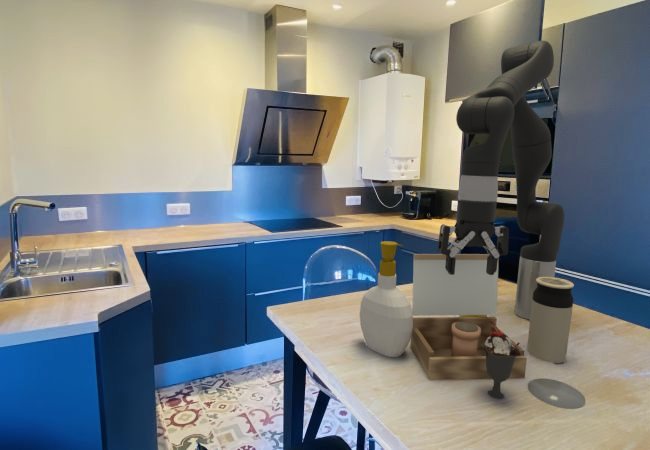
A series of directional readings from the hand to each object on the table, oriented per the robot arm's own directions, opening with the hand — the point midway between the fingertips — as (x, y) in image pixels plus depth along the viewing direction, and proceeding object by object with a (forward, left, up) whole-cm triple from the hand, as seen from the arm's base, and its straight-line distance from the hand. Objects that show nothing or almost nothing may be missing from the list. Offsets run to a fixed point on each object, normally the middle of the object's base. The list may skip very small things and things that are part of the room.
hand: (470, 274), depth 85 cm
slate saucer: (-13, +12, -21) cm, 27 cm away
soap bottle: (+16, -7, -21) cm, 27 cm away
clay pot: (0, 0, -20) cm, 20 cm away
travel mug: (-21, -3, -21) cm, 30 cm away
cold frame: (0, 0, -21) cm, 21 cm away
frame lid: (0, -7, -5) cm, 8 cm away
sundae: (-1, +12, -21) cm, 24 cm away
